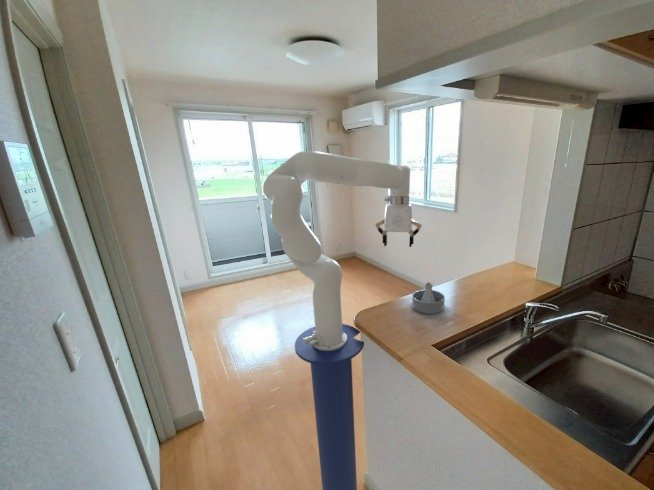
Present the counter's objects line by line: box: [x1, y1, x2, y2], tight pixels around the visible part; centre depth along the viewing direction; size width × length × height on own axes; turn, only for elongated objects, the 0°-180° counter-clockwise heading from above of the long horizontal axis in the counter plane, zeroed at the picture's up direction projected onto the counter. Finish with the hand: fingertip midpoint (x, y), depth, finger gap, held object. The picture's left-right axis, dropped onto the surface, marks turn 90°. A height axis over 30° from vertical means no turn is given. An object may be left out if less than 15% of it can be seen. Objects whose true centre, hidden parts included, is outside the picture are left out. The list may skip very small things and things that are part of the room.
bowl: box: [411, 289, 446, 315], centre depth 132 cm, size 13×13×5 cm
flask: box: [421, 282, 435, 303], centre depth 131 cm, size 7×7×10 cm
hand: (397, 245), depth 120 cm, fingers open, 9 cm apart
